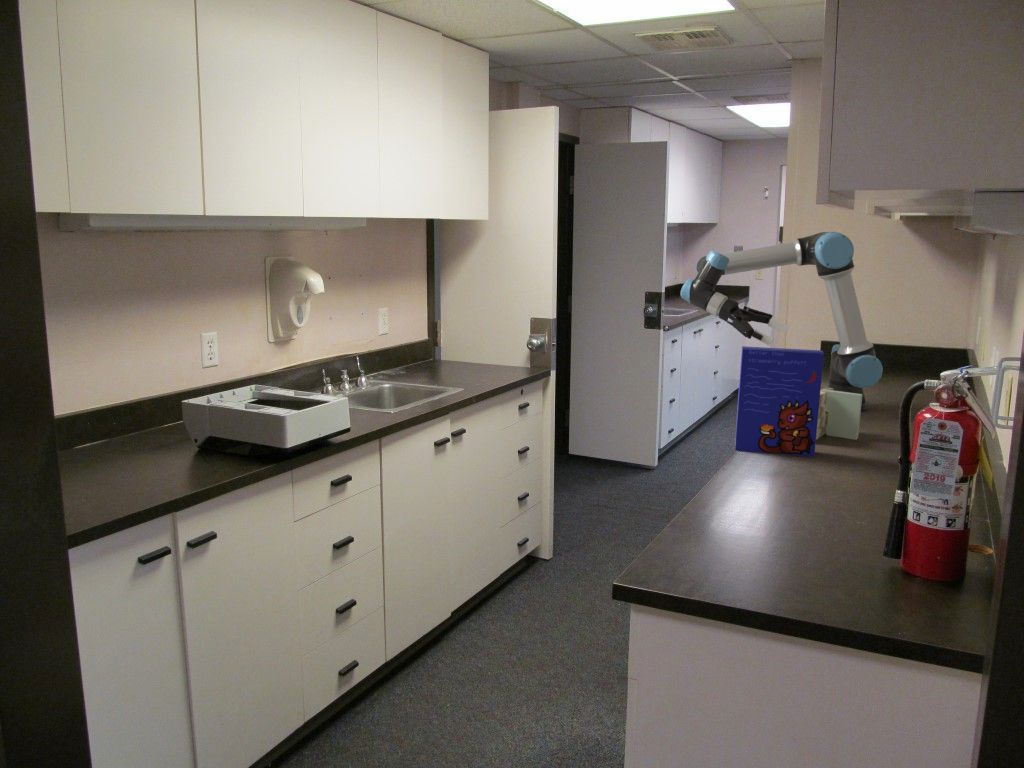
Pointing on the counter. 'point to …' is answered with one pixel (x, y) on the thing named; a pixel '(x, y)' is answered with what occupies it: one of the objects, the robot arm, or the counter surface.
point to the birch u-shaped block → (822, 414)
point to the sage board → (843, 414)
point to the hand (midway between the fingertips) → (779, 336)
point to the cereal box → (778, 400)
